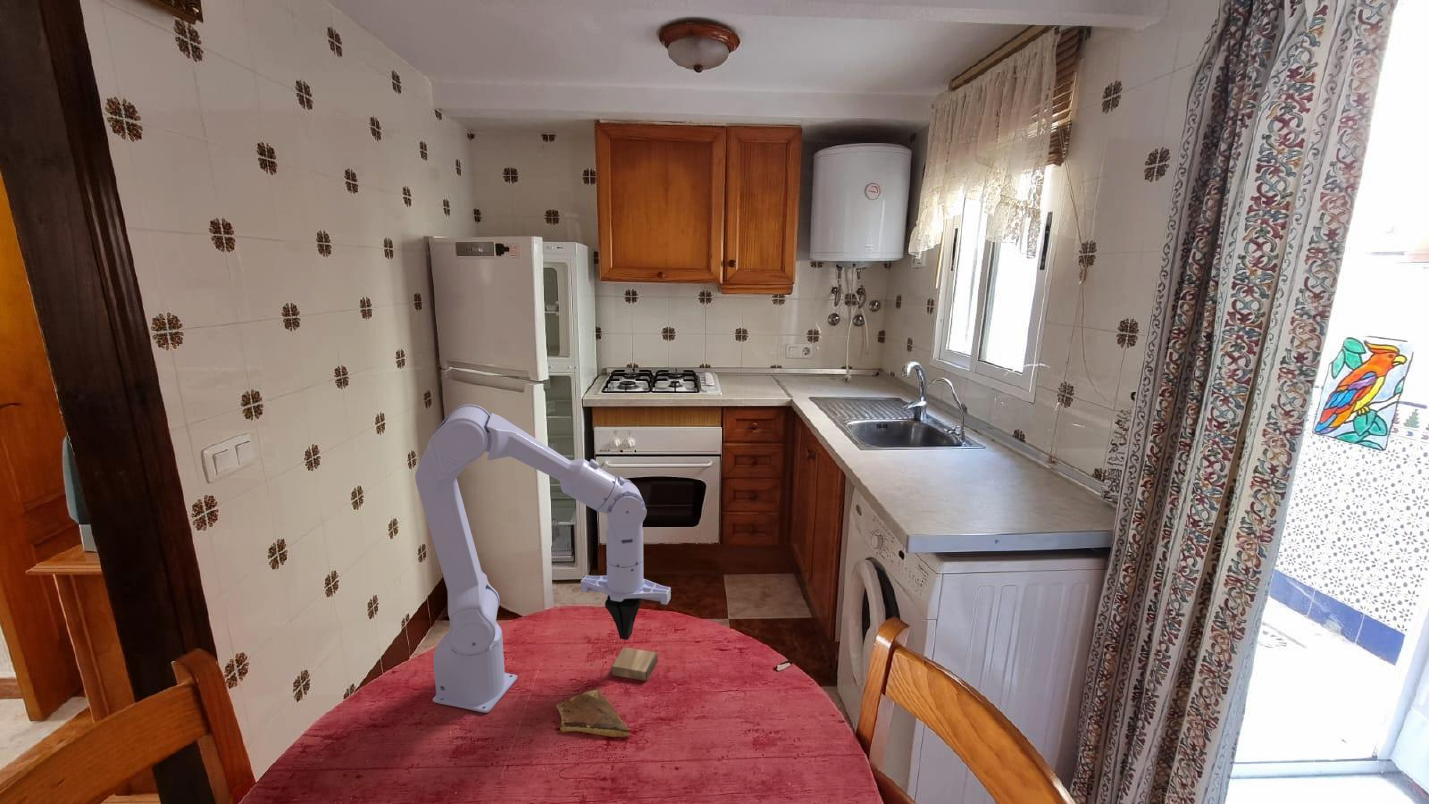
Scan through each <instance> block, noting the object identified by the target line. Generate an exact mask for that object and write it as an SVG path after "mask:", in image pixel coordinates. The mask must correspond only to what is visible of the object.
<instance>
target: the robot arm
mask: <svg viewBox="0 0 1429 804" xmlns="http://www.w3.org/2000/svg"><path fill="white" fill-rule="evenodd" d="M485 453H488V455H487V457H486V460H487V461H493V460H498V459H502V458H503V459H504V458H508V457H510V458H512V459H515V460H517V461H519V462H520V463H523V464H526V465H527V466H530V467H531V468H533V469H535V470H538V471H539V472H541V473H544V474H545V475H548V476H549V477H552V478H553V479H555V480H558V481H559V484H560V489H561V492H562V493H563V494H565V495H567V496H569V497H571V498H572V499H574V500H576V501H578V502H579V503H582V504H584V505H585V506H587V507H589V508H591V509H592V510H594V511H596V512H598V513H603V514H606V518H607V522H606V523H607V530H606V533H605V537H606V539H605V540H606V541H605V542H606V575H589V574H588V575H585V576H584V577H583V578H582V579H581V580H580V593H588V592H596V593H602V594H605V595H607V599H606V600H605V601H604V606H605V609H606V610H607V611H608V613H609V614H610V615H611V617H612V620H613V621H614V624H615V626H616V629H617V632H618V637H619V639H620V640H625V641H629V639H630V637H631V636H632V634H633V629H634V623H635V621H636V617H637V614H638V611H639V609H640V607H641V604H642V602H643V600H649V601H657V602H660V604H661V605H665V606H666V605H668V604H669V602H670V600H671V597H672V594H671V592H672V591H671V590H672V589H671V587H670V586H665V585H661V584H659V583H656V582H653V581H651V580H649V579H645V578H644V530H643V524H644V523H643V522H644V520H645V519H646V517H647V513H648V512H647V511H648V510H647V508H646V505H645V501H644V499H643V497H642V494H641V493H640V489H638V487H637V486H636V485H635V484H634V483H633V482H632V481H631V480H630V479H625V478H624V477H622V476H618V477H616V476H614V475H613V474H610V473H609V472H607V471H605V470H604V469H602V468H600V464H599V462H598V461H597V460H595V459H593V458H591V459H590V461H588V460H587V459H585V458H577V459H571V460H570V459H569V458H567V457H565V456H563V455H562V454H560V453H559V452H557V451H556V450H554V449H553V448H551V447H549V446H547V445H546V444H545V443H543V442H542V441H540V440H538V439H536V438H535V437H534V436H532V435H531V434H529V433H527V432H526V431H524V429H523V430H522V429H521V428H519V427H518V426H517V425H514V424H513V423H512V422H510V421H508V420H507V419H505V418H504V417H502V416H500V415H498V414H496V413H495V412H494V413H493V412H492V413H491V414H490V413H489V412H488V411H487V410H486V409H485V408H483V406H479V405H477V404H471V403H470V404H463V405H459V406H458V407H456V408H454V409H452V411H451V412H450V413H449V414H448V415H447V416H446V417H445V418H444V419H443V420H442V421H441V423H440V424H439V425H438V427H437V428H436V430H435V432H434V433H433V434H432V436H431V437H430V438H429V439H428V442H427V446H426V448H425V450H424V453H423V456H422V458H421V459H420V462H419V464H418V467H417V470H416V472H415V474H414V478H415V485H416V487H417V491H418V494H419V498H420V501H421V505H422V508H423V511H424V514H425V518H426V519H425V520H426V521H427V525H428V528H429V532H430V535H431V539H432V542H433V545H434V548H435V552H436V556H437V559H438V563H439V567H440V570H441V573H442V576H443V579H444V583H445V586H446V590H447V613H448V614H447V615H448V618H449V628H448V631H447V633H446V634H445V635H444V636H442V638H441V639H440V640H439V642H438V644H437V645H436V647H435V649H434V654H433V663H432V665H433V672H434V673H433V674H434V684H435V696H434V697H433V698H432V702H433V703H436V704H441V705H445V706H451V707H456V708H460V709H465V710H471V711H475V712H480V713H485V714H486V713H490V711H492V710H493V708H494V707H495V706H496V704H497V703H498V702H499V701H500V700H501V699H502V697H503V696H504V695H505V694H506V692H508V690H509V689H510V688H511V687H512V686H513V684H514V683H515V682H516V681H517V679H518V675H517V674H512V673H508V672H505V671H506V670H505V657H504V643H503V631H502V630H503V629H502V628H501V626H500V625H499V624H498V622H497V615H498V610H499V607H500V601H501V600H500V595H499V594H498V592H497V590H496V589H495V588H494V587H492V585H491V584H490V582H489V580H488V576H487V574H485V573H484V572H483V570H482V568H481V563H480V560H479V556H478V552H477V549H476V545H475V542H474V537H473V534H472V531H471V526H470V523H469V520H468V516H467V513H466V509H465V505H464V500H463V497H462V494H461V491H460V490H461V489H460V486H459V482H458V479H457V478H458V476H459V475H460V474H461V473H462V471H463V470H464V469H465V468H466V467H468V466H470V465H471V464H474V462H476V461H478V460H479V459H480V458H481V457H482V456H483V455H485Z"/></svg>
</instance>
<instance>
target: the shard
mask: <svg viewBox="0 0 1429 804" xmlns="http://www.w3.org/2000/svg"><path fill="white" fill-rule="evenodd" d="M555 706H556V708H557V710H558V712H559V714H560V717H561V724H560V731H561V733H562V732H564V733H565V732H582V733H588V734H591V735H599V736H600V735H601V736H604V737H605V736H607V737H612V738H613V737H615V738H617V737H618V738H619V737H620V738H622V737H624V738H626V737H629V736H630V734H631V733H632V731H631V730H630V728H628V727H629V726H627V725H626V723H625V722H624V721H623V719H621V718H620V716H619V715H618V713H617V711H616V710H615V708H614V707H613V706H612V704H611V703H610V702H609V701H608V698H606V697H605V696H604V695H603V694H602V693H601V692H600V690H599V689H595V690H587V691H584V692H582V693H578V694H577V695H574V696H572V697H570V698H567V699H565V700H562V701H560V702H558V703H557V704H556V705H555Z"/></svg>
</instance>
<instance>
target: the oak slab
mask: <svg viewBox="0 0 1429 804" xmlns="http://www.w3.org/2000/svg"><path fill="white" fill-rule="evenodd" d="M658 657H659V655H658V652H657V651H656V652H655V651H651V650H650V651H649V650H645V649H637V648H633V647H632V648H631V647H625V646H623V647H622V649H621V651H619V653H618V654H617V657H616V658H615V660H614V662H613V663H612V665H611V675H612V676H618V677H621V678H629V679H634V680H639V681H644V682H648V681H649V679H650V678H651V675H652V673H653V671H654V669H655V667H656V665H657V663H658Z"/></svg>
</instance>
